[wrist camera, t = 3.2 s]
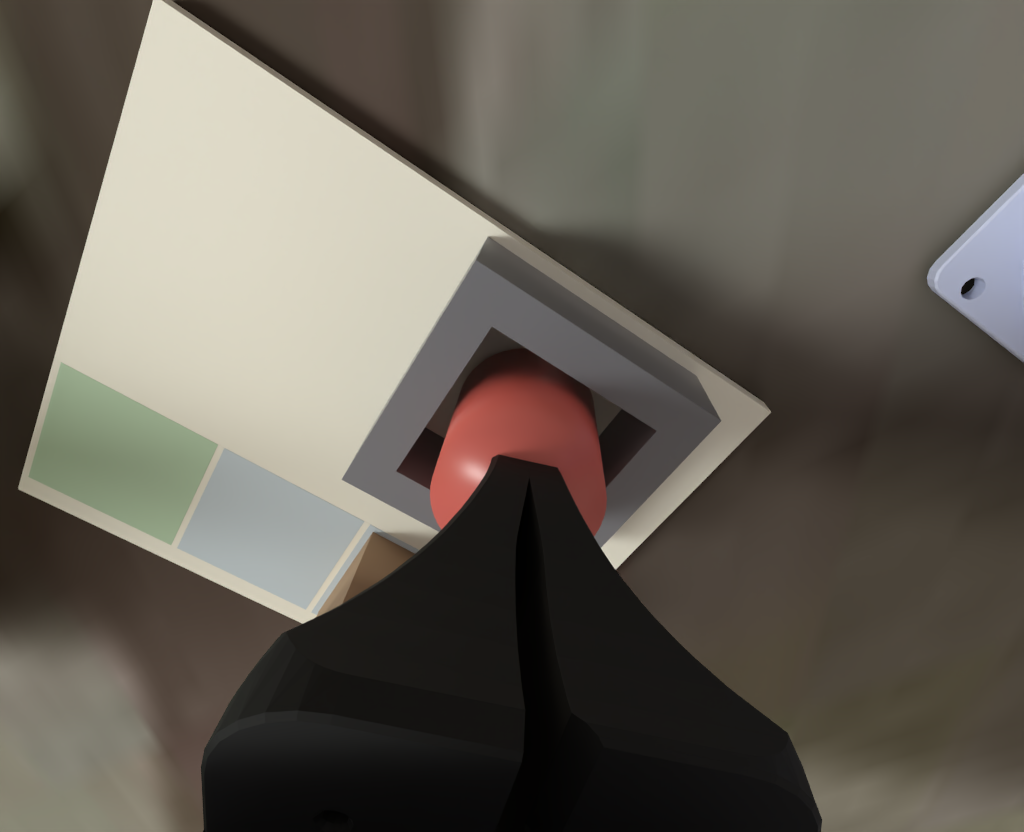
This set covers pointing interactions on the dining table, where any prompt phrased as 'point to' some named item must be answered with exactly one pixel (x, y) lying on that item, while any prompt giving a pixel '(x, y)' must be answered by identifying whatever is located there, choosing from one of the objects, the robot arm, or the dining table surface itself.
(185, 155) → the board
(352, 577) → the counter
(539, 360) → the dome button
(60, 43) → the dining table surface
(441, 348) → the dome collar
